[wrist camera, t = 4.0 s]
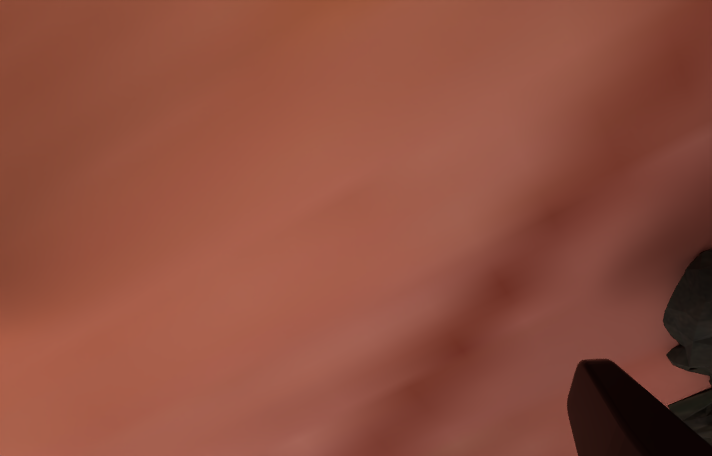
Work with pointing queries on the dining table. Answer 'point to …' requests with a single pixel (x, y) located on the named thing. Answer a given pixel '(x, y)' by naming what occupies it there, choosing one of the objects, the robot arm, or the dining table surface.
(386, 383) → the dining table surface
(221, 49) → the dining table surface
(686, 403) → the wood
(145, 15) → the dining table surface
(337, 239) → the dining table surface
